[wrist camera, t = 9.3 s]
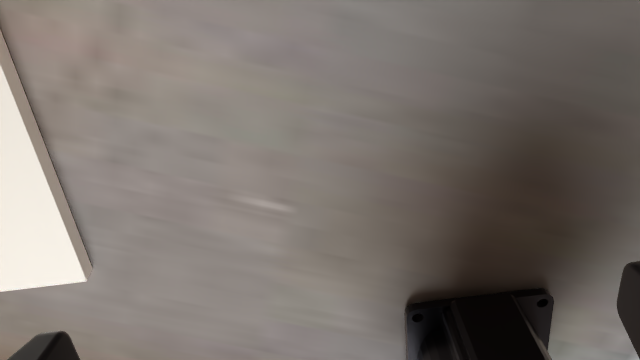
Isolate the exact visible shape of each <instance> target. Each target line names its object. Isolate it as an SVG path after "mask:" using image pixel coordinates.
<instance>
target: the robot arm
mask: <svg viewBox="0 0 640 360" xmlns="http://www.w3.org/2000/svg"><path fill="white" fill-rule="evenodd" d="M540 299H543V300H541V301H539V300H540ZM553 304H554V300H553V297H552V296H551V294H550V293H549V291H548V290H546V289H542V288H539V289H531V290H522V291H514V292H505V293H497V294H489V295H480V296H472V297H463V298H455V299H446V300H438V301H430V302H421V303H414V304H411V305H409V306H408V307H407V308H406V310H405V333H406V357H407V360H552V359H551V357H550V355H549V353H548V352H547V350H548V342H549V334H550V327H551V319H552V311H553ZM617 310H618V314H619V317H620V319H621V321H622V323H623V325H624V327H625V329H626V331H627V333H628V336H629V338H630V340H631V342H632V344H633V346H634V348H635V350H636V352H637V354H638V356H639V358H640V261H637V262H630V263H628V264H627V265H626V266H625V267H624V269H623V273H622V278H621V283H620V288H619V293H618V298H617ZM415 314H420V315H418V316H414V315H415ZM7 360H80V358H79V356H78V354H77V352H76V349H75V347H74V345H73V343H72V340H71V338H70V336H69V335H68V334H67V333H66V332H65V331H54V332H46V333H41V334H38V335H36V336H35V337H34V338H32V339H31V340H30V341H29V342H28V343H26V344H25V345H24V346H23V347H22V348H20V349H19V350H18V351H17V352H16V353H14V354H13V355H12V356H11V357H10V358H8V359H7Z"/></svg>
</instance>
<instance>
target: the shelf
mask: <svg viewBox="0 0 640 360" xmlns="http://www.w3.org/2000/svg"><path fill="white" fill-rule="evenodd" d="M92 269H93V268H92V265H91V263H90V260H89V258H88V255H87V252H86V250H85V247H84V245H83V242H82V239H81V237H80V234H79V232H78V229H77V227H76V224H75V221H74V219H73V216H72V214H71V211H70V208H69V206H68V203H67V201H66V198H65V195H64V193H63V190H62V188H61V185H60V183H59V180H58V177H57V175H56V172H55V170H54V167H53V164H52V162H51V159H50V157H49V154H48V151H47V149H46V146H45V144H44V141H43V139H42V136H41V133H40V131H39V128H38V126H37V123H36V120H35V118H34V115H33V113H32V110H31V107H30V105H29V102H28V100H27V97H26V95H25V92H24V89H23V87H22V84H21V82H20V79H19V76H18V74H17V71H16V69H15V66H14V63H13V61H12V58H11V56H10V53H9V50H8V48H7V45H6V43H5V40H4V38H3V35H2V32H1V30H0V292H1V291H10V290H18V289H26V288H35V287H43V286H52V285H60V284H68V283H77V282H85V281H87V280H88V278H89V276H90V274H91V272H92Z"/></svg>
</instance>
